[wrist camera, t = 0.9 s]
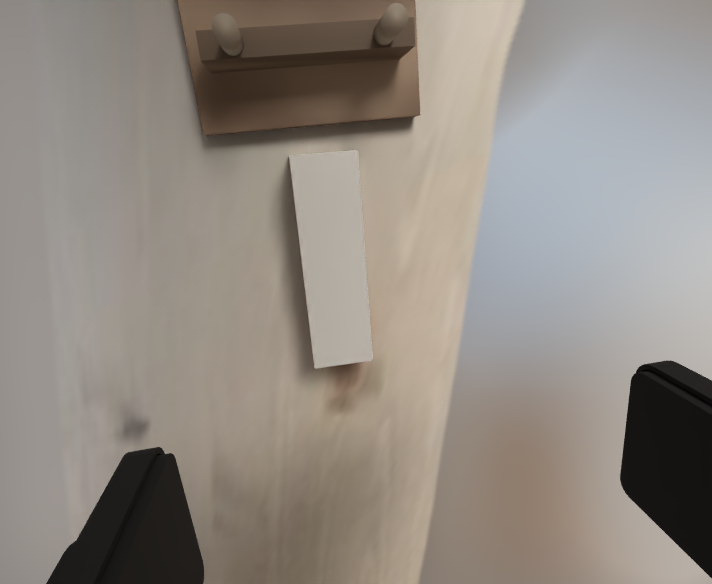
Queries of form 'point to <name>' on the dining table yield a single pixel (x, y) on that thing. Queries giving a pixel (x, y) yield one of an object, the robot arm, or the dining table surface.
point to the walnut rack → (300, 62)
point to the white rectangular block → (333, 255)
